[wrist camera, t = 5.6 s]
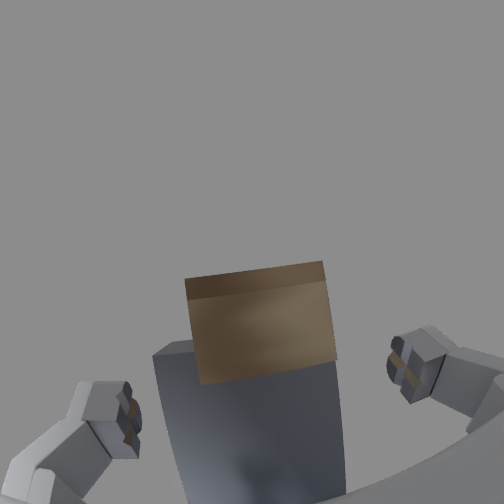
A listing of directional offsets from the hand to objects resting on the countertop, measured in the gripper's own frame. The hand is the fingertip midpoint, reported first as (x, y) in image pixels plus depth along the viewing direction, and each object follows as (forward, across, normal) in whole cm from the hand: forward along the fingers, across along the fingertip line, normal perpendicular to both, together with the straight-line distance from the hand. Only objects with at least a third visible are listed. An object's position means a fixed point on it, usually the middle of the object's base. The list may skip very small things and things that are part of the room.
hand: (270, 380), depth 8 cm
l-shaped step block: (-11, 0, +26) cm, 28 cm away
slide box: (+9, 0, +5) cm, 10 cm away
